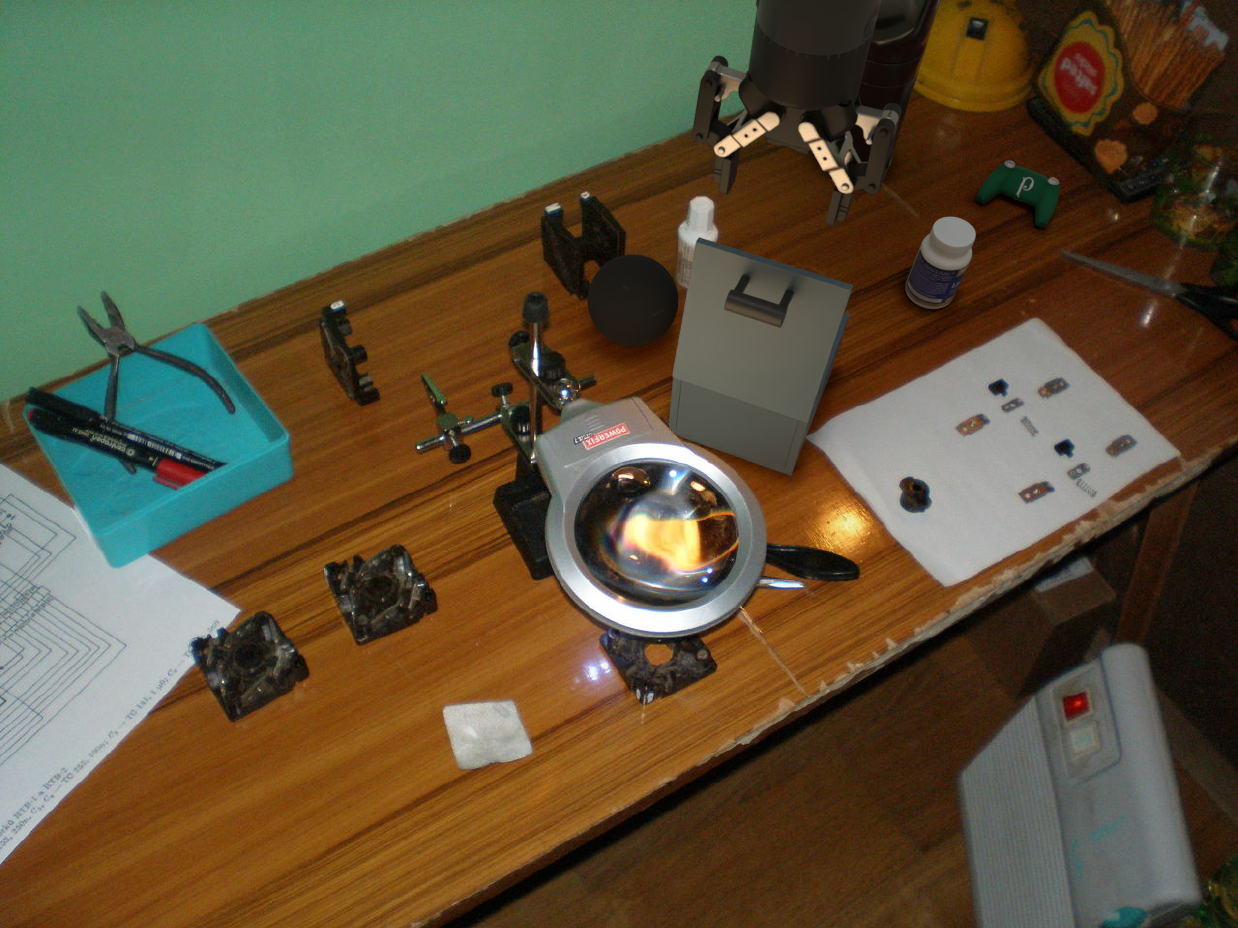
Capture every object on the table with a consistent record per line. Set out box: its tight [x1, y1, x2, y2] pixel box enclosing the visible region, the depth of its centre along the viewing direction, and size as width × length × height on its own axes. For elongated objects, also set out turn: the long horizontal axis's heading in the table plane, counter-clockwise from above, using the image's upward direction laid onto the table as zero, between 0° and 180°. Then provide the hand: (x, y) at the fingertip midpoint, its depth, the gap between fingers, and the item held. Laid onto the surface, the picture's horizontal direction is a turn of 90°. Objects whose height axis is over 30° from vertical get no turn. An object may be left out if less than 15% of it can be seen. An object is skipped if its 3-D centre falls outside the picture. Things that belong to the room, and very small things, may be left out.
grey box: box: [668, 311, 851, 477], centre depth 103 cm, size 15×14×10 cm
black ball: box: [586, 253, 680, 348], centre depth 108 cm, size 10×10×10 cm
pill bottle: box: [904, 216, 977, 310], centre depth 111 cm, size 6×6×10 cm
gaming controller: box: [975, 160, 1061, 229], centre depth 122 cm, size 9×4×6 cm
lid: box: [671, 236, 854, 423], centre depth 87 cm, size 16×14×5 cm
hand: (778, 202), depth 76 cm, fingers open, 8 cm apart
